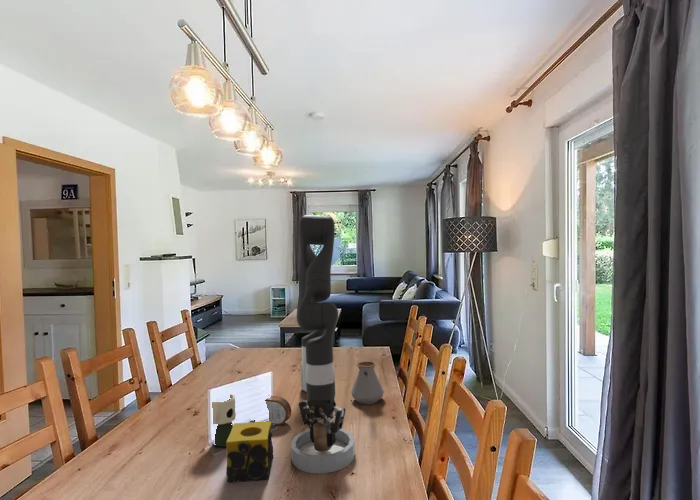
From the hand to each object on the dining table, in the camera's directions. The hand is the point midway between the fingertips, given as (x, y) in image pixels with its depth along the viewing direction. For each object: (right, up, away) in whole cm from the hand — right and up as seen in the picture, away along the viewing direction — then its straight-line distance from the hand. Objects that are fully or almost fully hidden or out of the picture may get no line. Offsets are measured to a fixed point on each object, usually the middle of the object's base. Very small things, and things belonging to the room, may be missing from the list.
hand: (322, 443), depth 105 cm
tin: (-19, -4, +21) cm, 28 cm away
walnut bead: (0, -1, 0) cm, 1 cm away
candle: (-18, -4, -5) cm, 19 cm away
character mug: (-29, -4, +9) cm, 30 cm away
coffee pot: (+13, -3, +31) cm, 34 cm away
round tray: (0, -3, 0) cm, 3 cm away
